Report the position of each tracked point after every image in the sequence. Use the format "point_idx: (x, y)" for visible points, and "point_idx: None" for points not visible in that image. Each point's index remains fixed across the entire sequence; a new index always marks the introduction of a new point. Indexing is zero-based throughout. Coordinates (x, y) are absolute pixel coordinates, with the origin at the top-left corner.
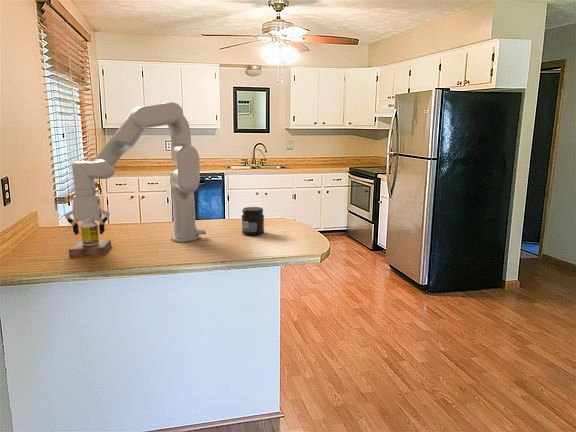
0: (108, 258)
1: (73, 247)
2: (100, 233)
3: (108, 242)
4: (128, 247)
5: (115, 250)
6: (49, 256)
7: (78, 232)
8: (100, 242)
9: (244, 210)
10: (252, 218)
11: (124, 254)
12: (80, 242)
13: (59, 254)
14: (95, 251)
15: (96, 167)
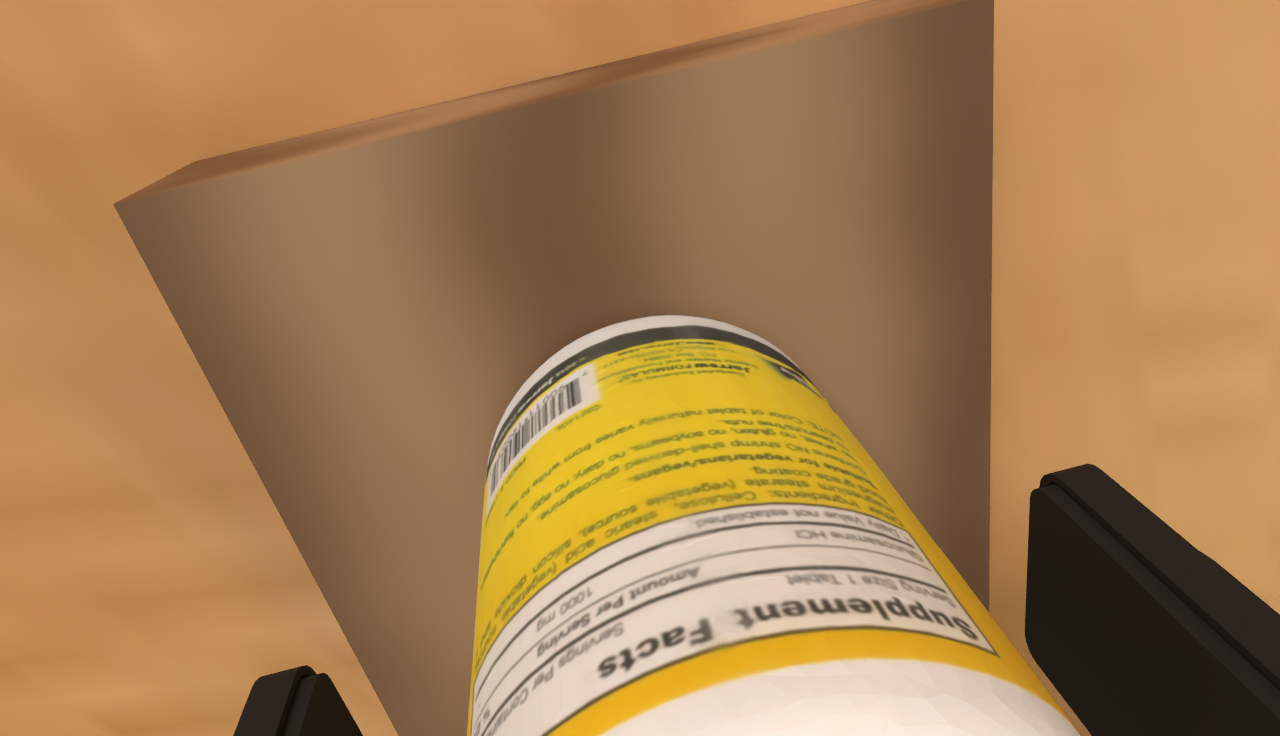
0: (1024, 642)
1: (431, 686)
2: (1051, 659)
3: (985, 254)
4: (1269, 73)
5: (1051, 294)
6: (86, 700)
7: (329, 716)
8: (817, 313)
9: None
10: None
11: (1215, 473)
12: (313, 362)
13: (165, 602)
14: None
15: None
